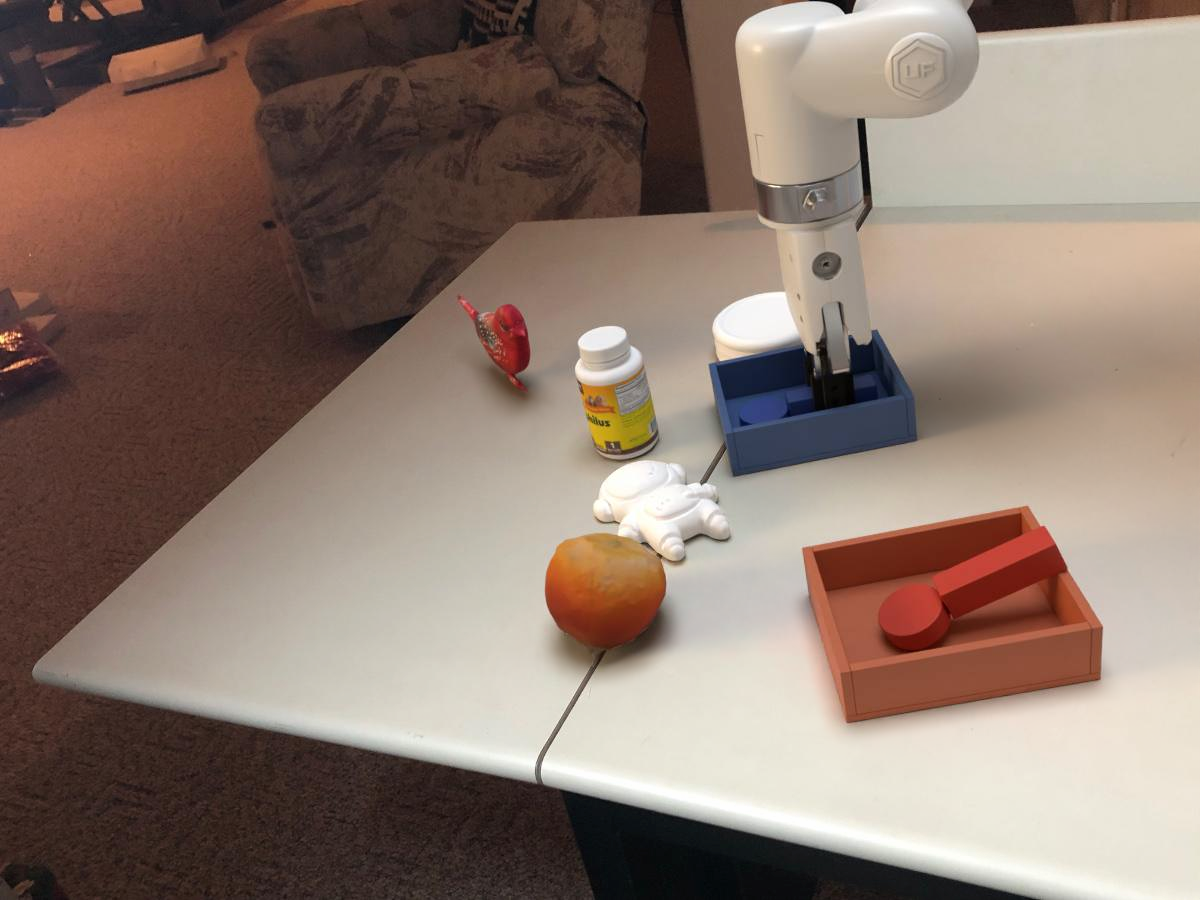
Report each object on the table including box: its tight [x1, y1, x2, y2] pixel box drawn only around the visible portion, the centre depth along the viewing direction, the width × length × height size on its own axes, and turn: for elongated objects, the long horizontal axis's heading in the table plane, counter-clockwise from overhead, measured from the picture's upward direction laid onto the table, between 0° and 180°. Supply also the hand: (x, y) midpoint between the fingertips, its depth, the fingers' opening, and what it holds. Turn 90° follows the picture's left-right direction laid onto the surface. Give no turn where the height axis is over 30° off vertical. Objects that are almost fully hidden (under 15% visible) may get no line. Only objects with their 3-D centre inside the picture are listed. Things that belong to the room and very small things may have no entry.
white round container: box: [711, 291, 803, 361], centre depth 98 cm, size 10×10×4 cm
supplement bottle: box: [574, 325, 660, 460], centre depth 88 cm, size 6×6×10 cm
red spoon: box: [878, 525, 1069, 650], centre depth 64 cm, size 11×4×2 cm, turn 92°
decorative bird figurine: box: [456, 294, 531, 393], centre depth 103 cm, size 3×18×10 cm, turn 28°
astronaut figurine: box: [592, 459, 731, 562], centre depth 81 cm, size 9×12×3 cm
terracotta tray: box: [801, 505, 1104, 723], centre depth 65 cm, size 14×11×4 cm
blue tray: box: [708, 328, 918, 477], centre depth 87 cm, size 14×11×4 cm
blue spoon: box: [738, 375, 878, 427], centre depth 87 cm, size 11×4×2 cm, turn 92°
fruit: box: [544, 532, 667, 669], centre depth 71 cm, size 8×8×8 cm
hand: (832, 405), depth 87 cm, fingers closed on blue spoon
